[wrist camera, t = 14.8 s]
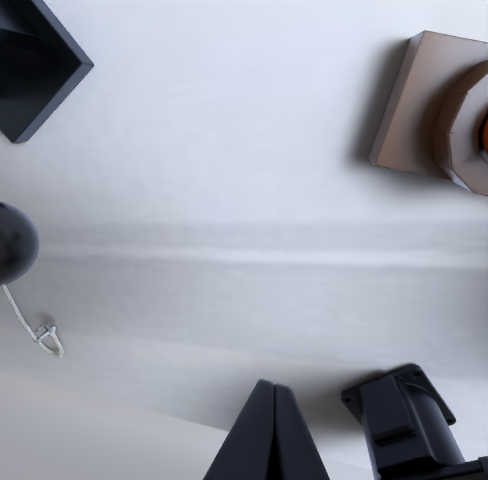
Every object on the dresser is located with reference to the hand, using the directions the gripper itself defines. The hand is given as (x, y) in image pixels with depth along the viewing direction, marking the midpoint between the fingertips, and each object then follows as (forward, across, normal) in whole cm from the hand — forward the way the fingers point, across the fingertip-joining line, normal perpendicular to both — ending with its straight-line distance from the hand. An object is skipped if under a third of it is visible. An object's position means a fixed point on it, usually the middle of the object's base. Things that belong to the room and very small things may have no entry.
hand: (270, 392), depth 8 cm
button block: (+13, -9, -8) cm, 17 cm away
